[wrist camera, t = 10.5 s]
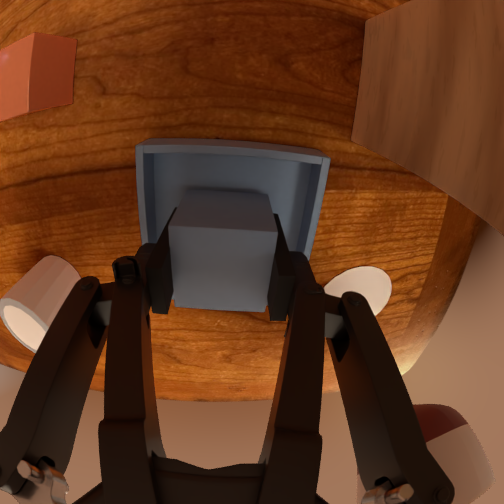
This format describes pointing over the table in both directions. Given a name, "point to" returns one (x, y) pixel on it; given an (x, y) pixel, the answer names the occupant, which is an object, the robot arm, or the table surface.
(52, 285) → the shot glass
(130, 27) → the table surface
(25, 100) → the terracotta block
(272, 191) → the tray
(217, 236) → the slate block
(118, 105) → the table surface
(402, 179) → the table surface
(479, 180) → the stand
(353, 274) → the wineglass
